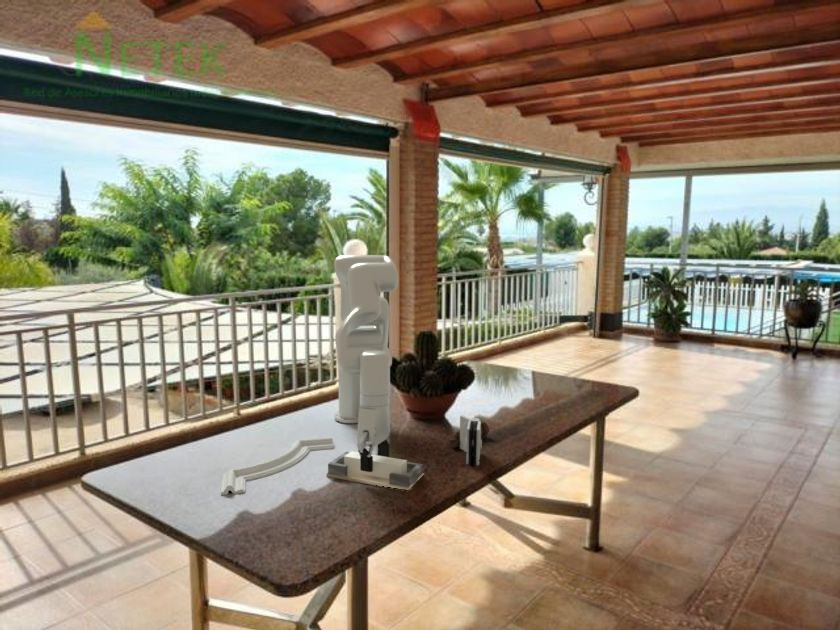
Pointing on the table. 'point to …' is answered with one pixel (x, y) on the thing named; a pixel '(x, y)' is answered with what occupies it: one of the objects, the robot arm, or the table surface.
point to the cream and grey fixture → (394, 481)
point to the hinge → (470, 438)
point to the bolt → (456, 439)
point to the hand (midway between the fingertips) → (375, 464)
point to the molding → (272, 464)
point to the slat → (376, 465)
